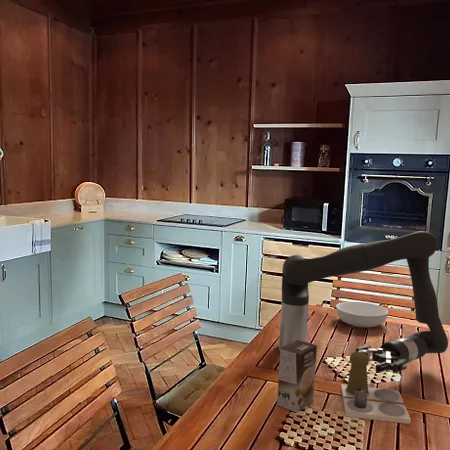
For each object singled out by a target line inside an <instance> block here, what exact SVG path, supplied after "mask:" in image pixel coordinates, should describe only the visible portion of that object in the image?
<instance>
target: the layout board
mask: <svg viewBox="0 0 450 450" xmlns="http://www.w3.org/2000/svg"><path fill="white" fill-rule="evenodd" d="M340 387H341V394H342V402H343V408H344V415H345V417H349V418H357V419H363V420H364V419H365V420H375V421H382V422H391V423H399V424H406V425H411V422H412V421H411V420H412V419H411V416H410V415H409V412H408V410H407V407H406V404H405V401H404V400H403V396H402V395H401V393H400V390H396V389H390V388H389V389H388V388H387V389H386V388H379V387H369V386H368V394H367V407H366V408H363V409H362V408H357V407H355V406H354V398H355V395H353V394H350V393H349V392H347V390H346V389H347V384H342V383H341V386H340Z"/></svg>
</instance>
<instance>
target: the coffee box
mask: <svg viewBox="0 0 450 450" xmlns="http://www.w3.org/2000/svg"><path fill="white" fill-rule="evenodd" d="M317 350H318V345H317V344H314V343H310V342H308V341H306V342H303V341H300V340H297V341H294V342H292V343H290V344H288V345H286V346H283V347H281V348H280V351H279V363H278V364H279V366H278V367H279V368H278V380H277V383H278V384H277V397H276V400H277V401H276V406H278V407H282V408H284V409H286V410H289V411H292V412H294V413H298V412H299V411H301V410H302V409H304V408H305V407H307V406H308V405H309V404H311V403H312V402H314V398H315V397H314V395H315V381H316V368H317V367H316V366H317V365H316V364H317V352H318V351H317Z"/></svg>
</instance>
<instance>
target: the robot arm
mask: <svg viewBox="0 0 450 450" xmlns="http://www.w3.org/2000/svg"><path fill="white" fill-rule="evenodd" d="M438 247H439V243H438V239H437V237H436V236H435V235H434V234H433V233H431V232H429V231H425V230H421V231H420V230H419V231H415V232H413V233H409V234H406V235H402V236H400V237H395V238H392V239H385V240H378V241H370V242H365V243H359V244H354V245H350V246H346V247H343V248H340V249H338V250H335V251H334V252H331V253H329V254H325V255H324V256H319V257H318V256H317V257H313V258H305V257H303V256H302V255H298V254H294V255H290V256H289V257H287V258H286V259H284V260H285V261H284V262H283V265H282V271H281V272H282V273H281V274H282V275H281V311H280V312H281V313H280V324H279V339H278V340H279V341H278V342H279V343H278V345H279V346H278V352H280V348H281V347H283V346H286V345H288V344H290V343H292V342H294V341H297V340H300V341H303V342H307V337H308V336H307V335H308V320H309V319H308V318H309V303H310V302H309V301H310V294H309V283H310V284H311V283H313V282H315V281H318V280H319V281H320V280H323V279H326V278H330V277H337V276H345V275H350V274H356V273H362V272H366V271H370V270H374V269H377V268H380V267H382V266H383V267H384V266H386V265H388V264H391V263H394V262H397V261H401V260H402V261H403V260H406V262H407V267H408V268H409V269H408V270H409V274H410V279H411V284H412V294H413V302H414V303H413V304H414V311H415V312H414V313H415V319H416V322H418V323H419V324H425V325H426V326H427V327H428V329H429V330H423V331H422V330H420V331H416V332H414V333H412V334H411V335H409V336H405V337H400V338H396V339H392V340H389V341H385V342H384V343H382V345H381V346H380V347H378V348H372V345H371V344H365V345H362V346H361V345H360V346H357V347H355V352H362V353H365V354H366V355H367V356H368V357H369V362H377V364H375V372H376V373H382V372H390V371H392V373H395V374H397V373H400V372H401V371H404V370H406V369H407V364H409V363H411V362H413V361H415V360H419V359H420V358H423V357H424V356H425V355H426V354H443V353H445V352H446V351H447V349H448V346H449V339H448V336H447V333H446V331H445V329H444V325H443V323H442V321H441V319H440V318H441V317H440V312H439V304H438V299H437V293H436V292H435V288H434V284H433V282H432V280H431V279H432V278H431V276H430V264H429V262H430V258H431V257H432V256H433V255H435V252H436V251H437V248H438ZM371 355H372V357H371Z"/></svg>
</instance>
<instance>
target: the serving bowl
mask: <svg viewBox="0 0 450 450" xmlns="http://www.w3.org/2000/svg"><path fill="white" fill-rule="evenodd" d="M335 310H336V314H337V316H338V318H339V319H340V320H341V321H343V322H344V323H346V324H347V325H351V326H354V327H356V328H363V329H365V328H371V327H372V328H373V327H378V326H380V325H382V324H383V323H384V322H385V321H386V320H387V318H388V315H389V311H388V309H387V308H385V307H383V306H381V305H379V304H378V305H377V304H376V303H375V304H374V303H370V302H364V301H344V302H339V303H337V304H336V305H335Z"/></svg>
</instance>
